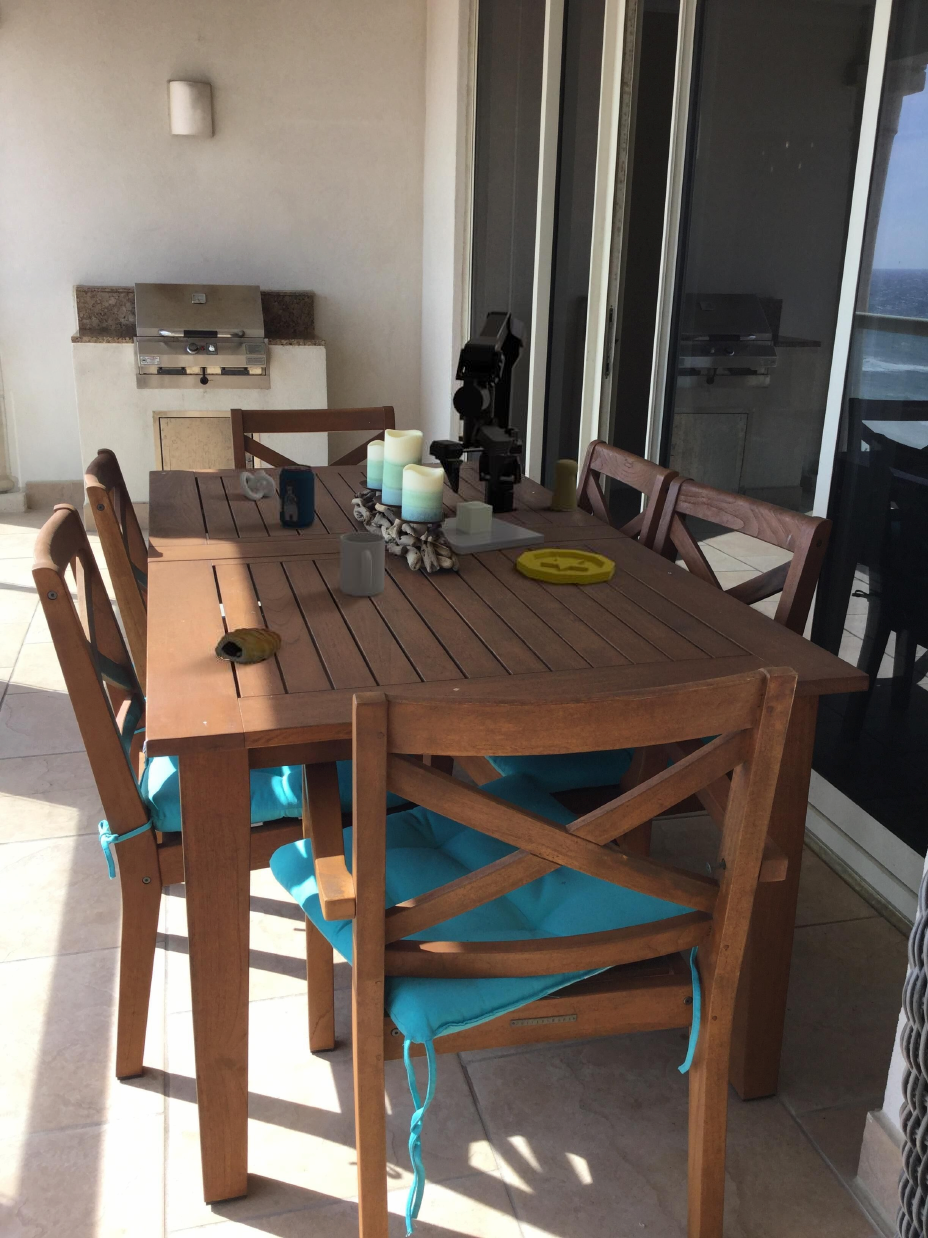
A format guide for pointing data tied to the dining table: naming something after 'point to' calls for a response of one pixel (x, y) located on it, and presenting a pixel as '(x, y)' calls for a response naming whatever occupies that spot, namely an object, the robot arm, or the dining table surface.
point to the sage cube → (474, 517)
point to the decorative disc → (565, 566)
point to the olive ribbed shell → (248, 645)
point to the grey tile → (489, 537)
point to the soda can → (296, 496)
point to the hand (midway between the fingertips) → (474, 491)
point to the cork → (565, 486)
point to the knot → (256, 485)
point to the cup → (362, 563)
